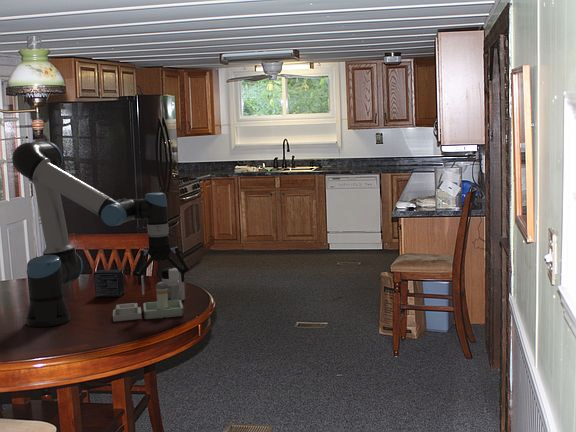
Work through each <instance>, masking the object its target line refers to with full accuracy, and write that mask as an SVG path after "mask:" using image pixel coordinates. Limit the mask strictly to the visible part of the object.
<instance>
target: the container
mask: <svg viewBox="0 0 576 432" xmlns="http://www.w3.org/2000/svg"><path fill="white" fill-rule="evenodd" d="M178 273H179V271H178V270H177V269H176V268H175V267H165V268H163V269H162V270H161V281H160V282H157V283H156V285H157V284H167V290H168V301H170V300H181V302H182V301H185V299H186V293H185V291H186V290H185V281H184V282H181V283H182V291H181V292H180V290H179V274H178Z"/></svg>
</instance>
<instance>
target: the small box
mask: <svg viewBox="0 0 576 432" xmlns="http://www.w3.org/2000/svg"><path fill="white" fill-rule="evenodd" d="M93 277H94V278H93V279H94V292H95V298H98V299H99V298H101V299H102V298H121V297H122V296H123V295H125V284H124V283H125V282H124V271H123V269H102V270H101V269H100V270H97V271H95V272H93Z"/></svg>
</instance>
